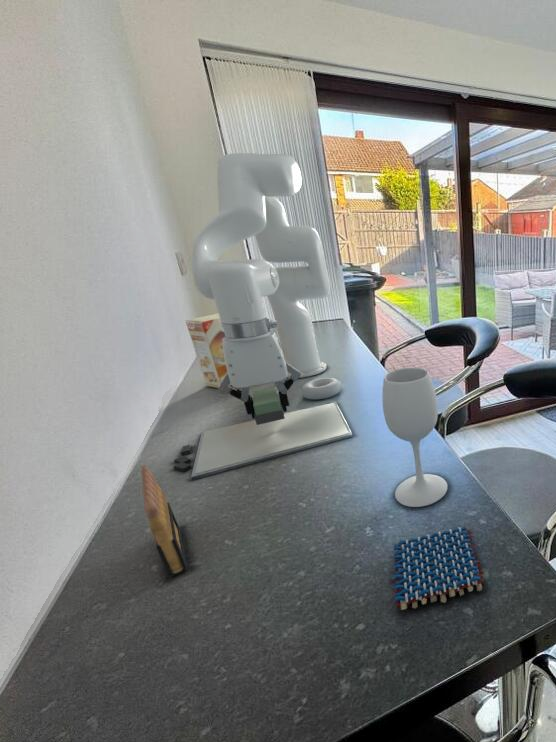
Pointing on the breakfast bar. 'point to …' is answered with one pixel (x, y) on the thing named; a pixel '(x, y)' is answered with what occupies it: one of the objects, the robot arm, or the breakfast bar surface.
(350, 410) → the breakfast bar surface
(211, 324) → the coffeecake box
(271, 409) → the eraser
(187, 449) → the dark grey small bar
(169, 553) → the ammunition clip
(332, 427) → the board
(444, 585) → the woven mat
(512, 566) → the breakfast bar surface
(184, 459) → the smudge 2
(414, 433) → the wineglass
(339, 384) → the donut
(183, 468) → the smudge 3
